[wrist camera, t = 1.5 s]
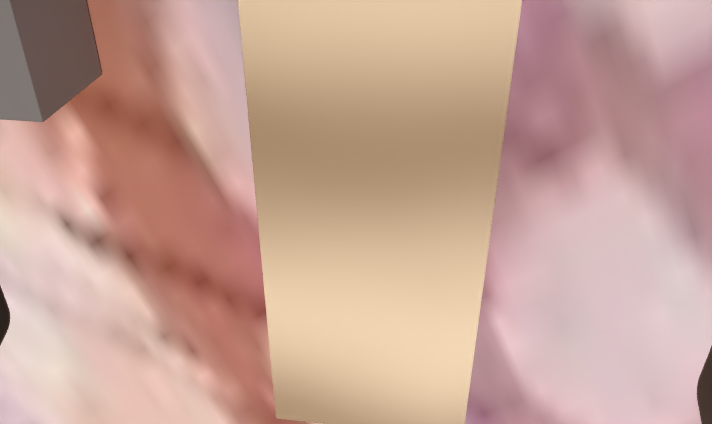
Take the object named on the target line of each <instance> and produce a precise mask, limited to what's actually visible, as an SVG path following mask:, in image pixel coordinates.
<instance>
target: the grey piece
mask: <svg viewBox="0 0 712 424" xmlns="http://www.w3.org/2000/svg"><path fill="white" fill-rule="evenodd" d="M101 75H102V72H101V67H100V62H99V58H98V53H97V48H96V43H95V39H94V34H93V29H92V25H91V20H90V15H89V11H88V6H87V1H86V0H0V119H3V120H19V121H34V122H44V121H45V120H46V119H47V118H49V117H50V116H51V115H52V114H54V113H55V112H56V111H57V110H59V109H60V108H61V107H62V106H64V105H65V104H66V103H67V102H68V101H70V100H71V99H72V98H73V97H75V96H76V95H77V94H78V93H80V92H81V91H82V90H83V89H85V88H86V87H87V86H88V85H89V84H91V83H92V82H93V81H94V80H96V79H97V78H98V77H99V76H101Z"/></svg>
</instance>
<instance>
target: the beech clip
mask: <svg viewBox="0 0 712 424" xmlns="http://www.w3.org/2000/svg"><path fill="white" fill-rule="evenodd" d="M521 4H522V0H238V8H239V19H240V30H241V41H242V52H243V63H244V74H245V85H246V95H247V106H248V117H249V128H250V139H251V150H252V161H253V172H254V183H255V194H256V204H257V215H258V226H259V237H260V248H261V259H262V270H263V281H264V292H265V303H266V313H267V324H268V335H269V346H270V357H271V368H272V379H273V390H274V401H275V412H276V418H279V419H288V420H296V421H305V422H314V423H323V424H465V417H466V409H467V402H468V395H469V387H470V380H471V372H472V365H473V358H474V350H475V343H476V336H477V328H478V321H479V314H480V306H481V299H482V291H483V284H484V277H485V269H486V262H487V255H488V247H489V240H490V232H491V225H492V218H493V210H494V203H495V196H496V188H497V181H498V173H499V166H500V159H501V151H502V144H503V137H504V129H505V122H506V114H507V107H508V100H509V92H510V85H511V78H512V70H513V63H514V55H515V48H516V41H517V33H518V26H519V19H520V11H521Z"/></svg>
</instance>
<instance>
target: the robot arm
mask: <svg viewBox="0 0 712 424" xmlns="http://www.w3.org/2000/svg"><path fill="white" fill-rule="evenodd" d="M9 323H10V312H9V308H8V305H7V302H6V300H5V297H4V294H3V291H2V289H1V286H0V345H1V343H2V341H3V339H4V337H5V335H6V333H7V330H8V327H9ZM697 400H698V406H699V411H700V416H701V422H702V424H712V347H711V349H710V352H709V354H708V357H707V359H706V362H705V364H704V367H703V369H702V372H701V374H700V377H699V380H698V385H697Z"/></svg>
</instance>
